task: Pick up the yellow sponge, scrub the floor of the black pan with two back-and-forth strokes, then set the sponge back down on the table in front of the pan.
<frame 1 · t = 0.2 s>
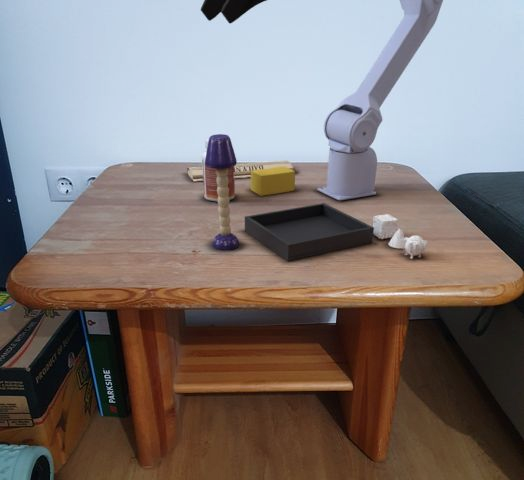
hand: (215, 16, 82), 31 cm above the table, tool tilted 45°, fingers open, 7 cm apart
toy lamp: (223, 246, 85), on the table
sponge: (272, 190, 111), on the table
pill bottle: (219, 198, 106), on the table
game pieces: (397, 246, 86), on the table
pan: (307, 236, 89), on the table
newspaper: (241, 174, 121), on the table
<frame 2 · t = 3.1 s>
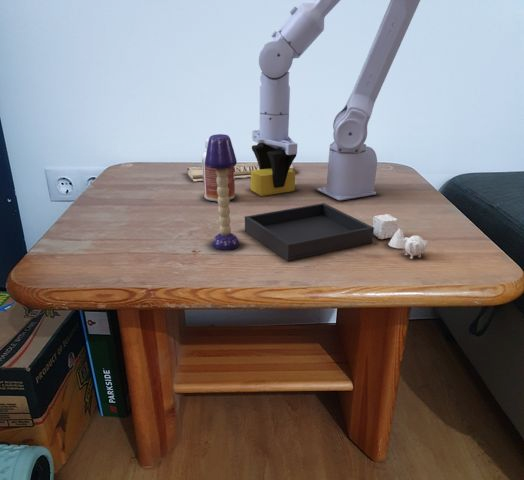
hand: (272, 183, 110), 1 cm above the table, tool pointing down, fingers closed on sponge, 4 cm apart
sponge: (272, 190, 111), on the table, touching gripper
everything else where it was.
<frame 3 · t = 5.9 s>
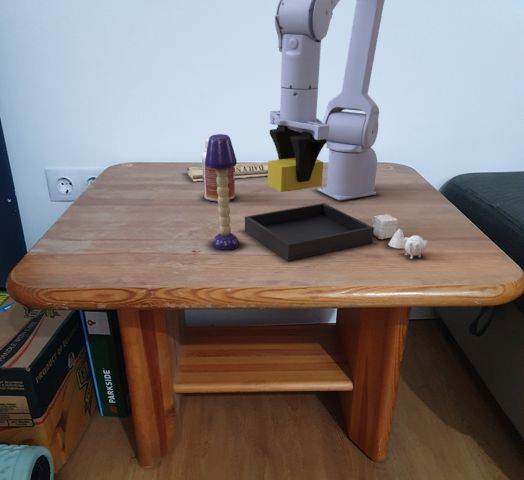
hand: (295, 177, 89), 8 cm above the table, tool pointing down, fingers closed on sponge, 4 cm apart
sponge: (294, 185, 89), point 7 cm above the table, touching gripper
everything else where it was.
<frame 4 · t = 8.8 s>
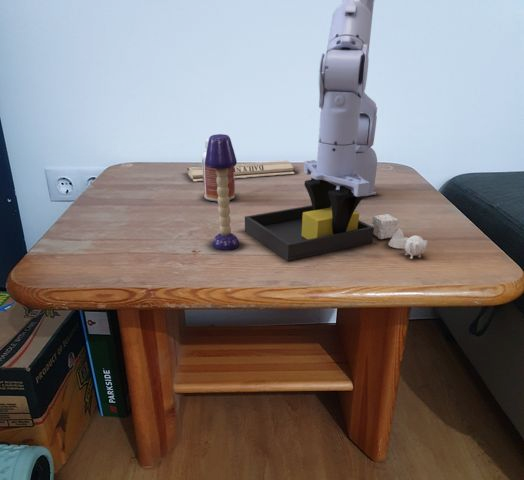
hand: (330, 228, 87), 2 cm above the table, tool pointing down, fingers closed on sponge, 4 cm apart
sponge: (329, 236, 88), point 1 cm above the table, touching gripper, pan
everything else where it was.
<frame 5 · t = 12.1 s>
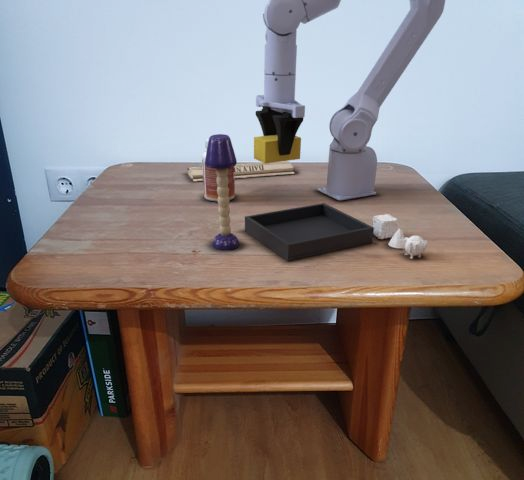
hand: (277, 151, 104), 8 cm above the table, tool pointing down, fingers closed on sponge, 4 cm apart
sponge: (276, 158, 104), point 7 cm above the table, touching gripper
everything else where it was.
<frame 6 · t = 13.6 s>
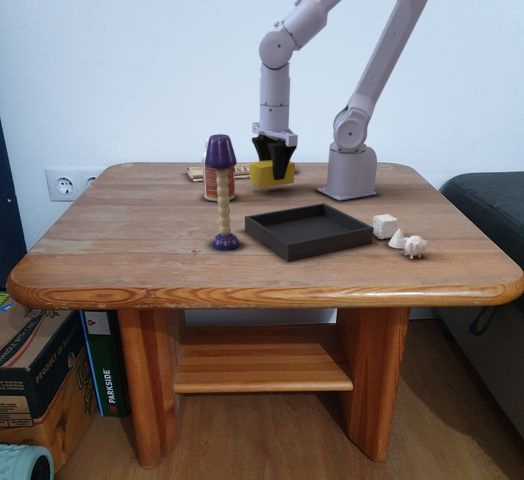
hand: (272, 176, 109), 3 cm above the table, tool pointing down, fingers closed on sponge, 4 cm apart
sponge: (271, 182, 110), point 2 cm above the table, touching gripper
everything else where it was.
when the fingers open (1 cm above the table, at t = 14.6 s): sponge stays where it is, on the table.
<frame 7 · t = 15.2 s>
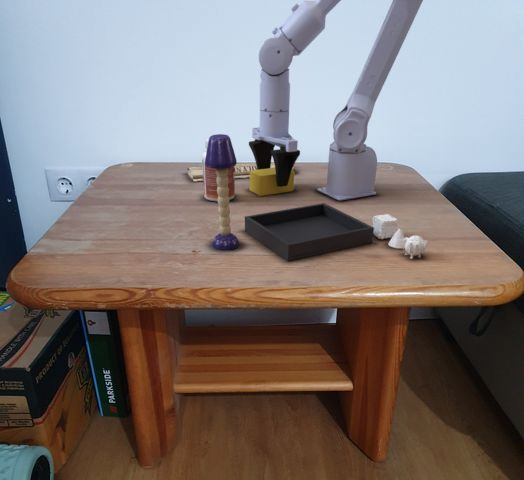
hand: (272, 181, 110), 2 cm above the table, tool pointing down, fingers open, 7 cm apart
sponge: (271, 190, 111), on the table
everything else where it was.
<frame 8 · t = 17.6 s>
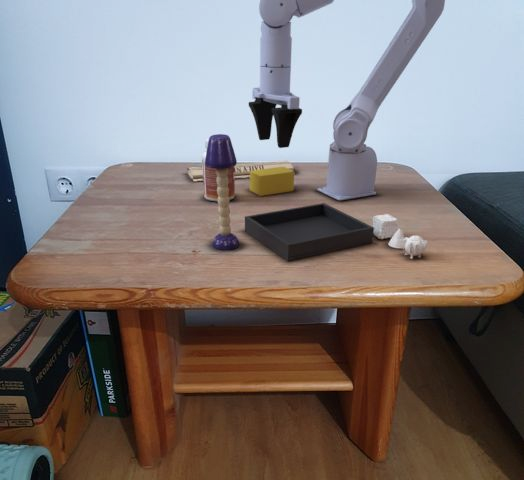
hand: (273, 143, 106), 9 cm above the table, tool pointing down, fingers open, 7 cm apart
nothing on the table moved.
at the end: sponge inside the target area on the table beside the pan (0.2 cm from its centre), on the table; sponge tilted 0°; the gripper is holding nothing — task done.
